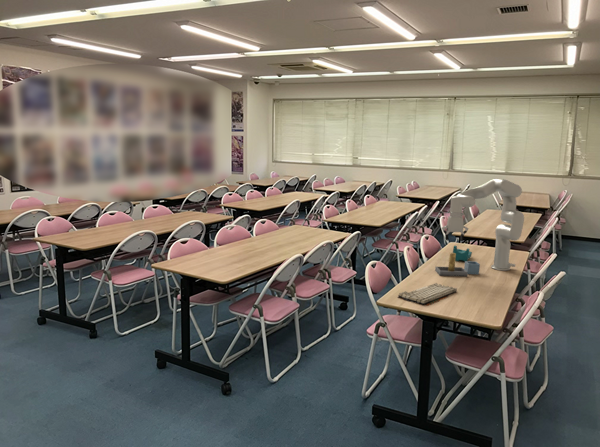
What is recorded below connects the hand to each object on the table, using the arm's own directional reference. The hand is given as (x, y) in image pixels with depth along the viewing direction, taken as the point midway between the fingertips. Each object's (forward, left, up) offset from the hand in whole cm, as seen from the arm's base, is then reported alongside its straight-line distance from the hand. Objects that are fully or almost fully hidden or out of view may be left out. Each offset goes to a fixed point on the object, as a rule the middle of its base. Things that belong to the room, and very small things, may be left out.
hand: (454, 240), depth 312 cm
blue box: (-15, -4, -23) cm, 27 cm away
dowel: (0, 0, -22) cm, 22 cm away
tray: (0, 0, -23) cm, 23 cm away
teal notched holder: (-20, -43, -23) cm, 53 cm away
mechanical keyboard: (+26, +47, -24) cm, 59 cm away
